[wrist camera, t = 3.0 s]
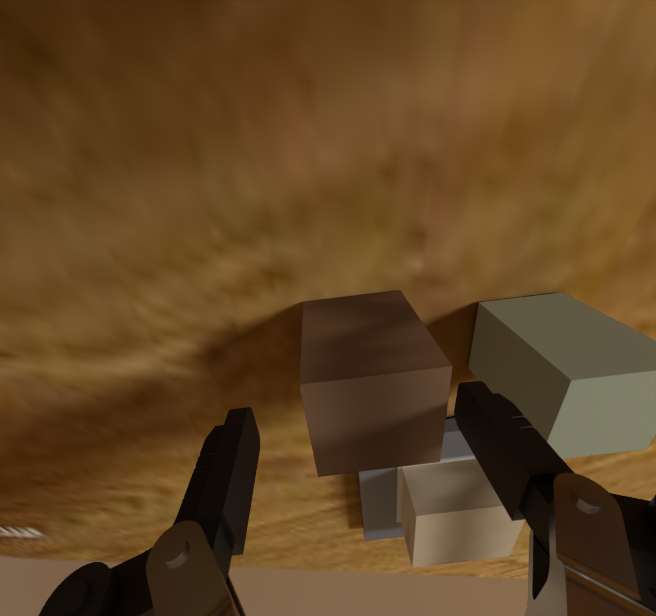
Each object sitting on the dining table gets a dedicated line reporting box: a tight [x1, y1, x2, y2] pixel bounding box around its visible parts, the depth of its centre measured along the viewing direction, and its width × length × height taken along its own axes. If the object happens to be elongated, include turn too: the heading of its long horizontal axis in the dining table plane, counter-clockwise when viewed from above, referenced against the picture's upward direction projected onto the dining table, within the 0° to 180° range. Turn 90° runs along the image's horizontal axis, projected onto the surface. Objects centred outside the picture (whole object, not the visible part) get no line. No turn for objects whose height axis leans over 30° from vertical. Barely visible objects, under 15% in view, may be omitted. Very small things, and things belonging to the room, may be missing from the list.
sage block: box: [468, 292, 656, 459], centre depth 13 cm, size 4×4×6 cm
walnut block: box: [299, 290, 453, 477], centre depth 13 cm, size 5×5×6 cm
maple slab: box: [400, 459, 525, 568], centre depth 20 cm, size 7×7×3 cm
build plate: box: [358, 418, 476, 541], centre depth 22 cm, size 13×13×1 cm
